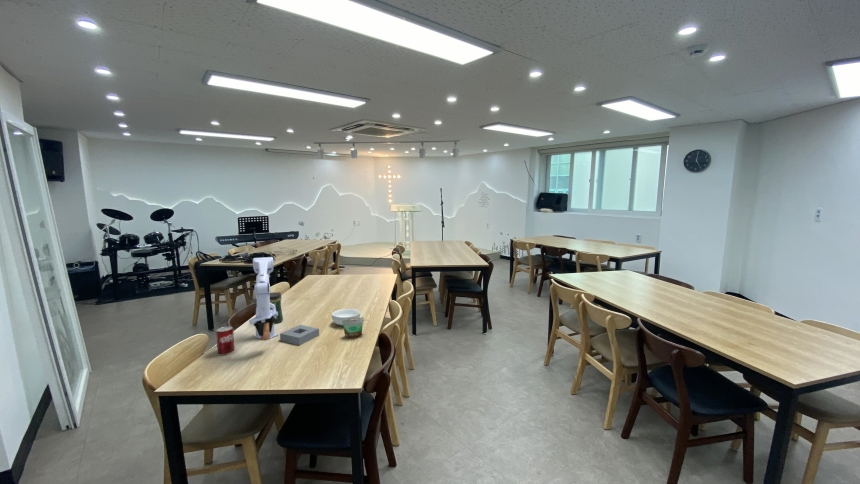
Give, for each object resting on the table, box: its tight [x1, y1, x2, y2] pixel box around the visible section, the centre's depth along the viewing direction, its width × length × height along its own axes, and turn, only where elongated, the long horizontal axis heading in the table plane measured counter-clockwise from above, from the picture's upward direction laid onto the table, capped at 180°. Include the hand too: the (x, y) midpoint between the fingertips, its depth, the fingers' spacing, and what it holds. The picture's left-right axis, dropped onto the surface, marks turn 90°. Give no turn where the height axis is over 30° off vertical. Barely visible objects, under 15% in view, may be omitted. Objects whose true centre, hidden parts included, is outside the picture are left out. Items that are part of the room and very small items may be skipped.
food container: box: [342, 316, 365, 339], centre depth 180 cm, size 12×6×10 cm, turn 117°
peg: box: [260, 322, 271, 341], centre depth 160 cm, size 4×4×8 cm
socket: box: [279, 324, 320, 346], centre depth 178 cm, size 14×14×4 cm
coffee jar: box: [269, 292, 284, 324], centre depth 202 cm, size 10×8×19 cm
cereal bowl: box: [331, 308, 361, 327], centre depth 200 cm, size 17×17×7 cm
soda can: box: [215, 326, 236, 356], centre depth 161 cm, size 7×7×12 cm
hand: (265, 333), depth 161 cm, fingers closed on peg, 4 cm apart
